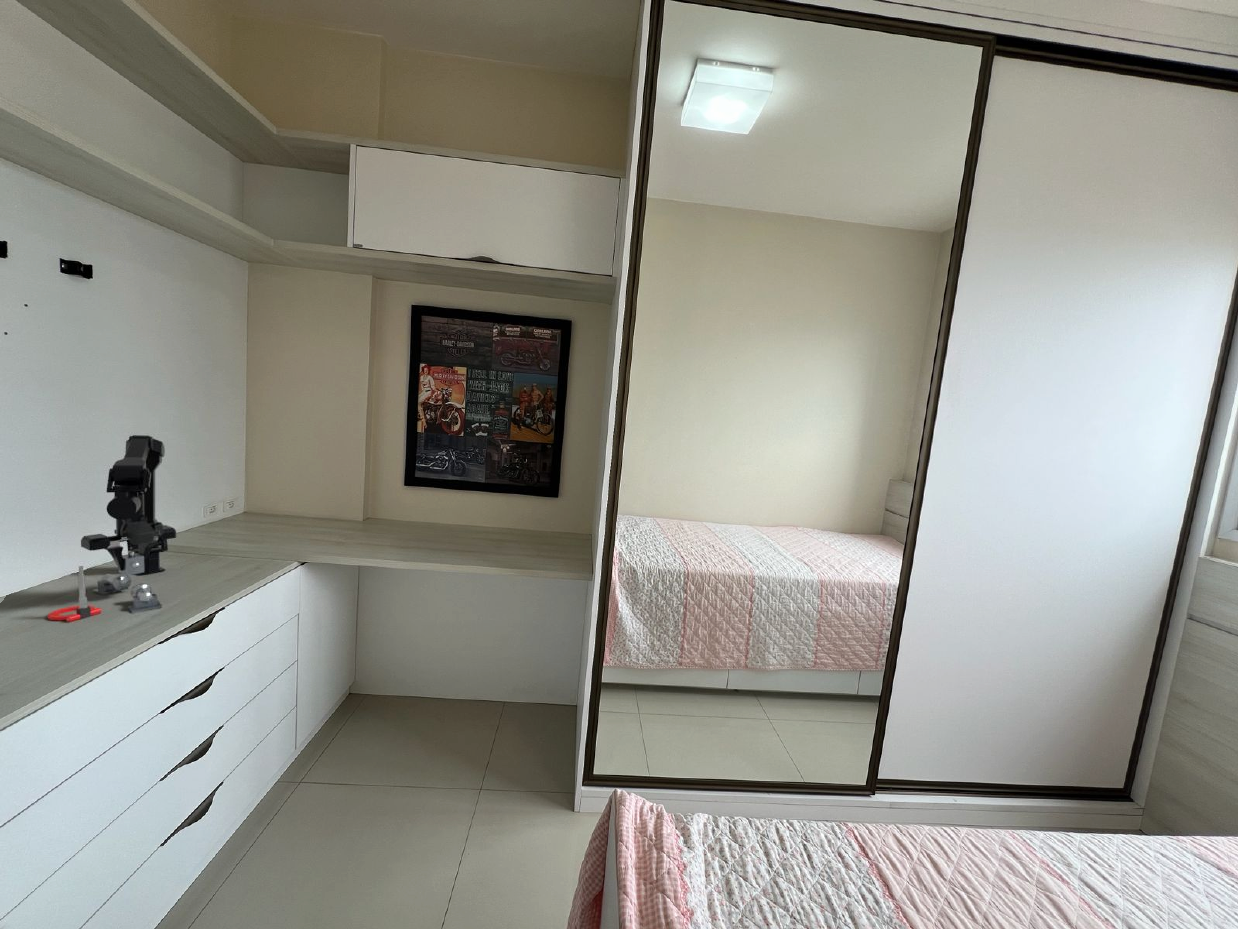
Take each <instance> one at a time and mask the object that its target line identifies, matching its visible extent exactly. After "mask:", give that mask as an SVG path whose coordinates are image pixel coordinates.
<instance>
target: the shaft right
mask: <svg viewBox="0 0 1238 929" xmlns="http://www.w3.org/2000/svg"><path fill="white" fill-rule="evenodd" d="M130 596H131V597H132V605H131V604H130V605H128V609H129V611H130V612H131V614H134V613H141V612H146V611H153V610H156V609H157V610H158V609H162V608H163V605H162V603H161V602H160V601H159V600H158V595H157V594H156V593H153V589H152V587H151V585H149V584H148V583H138V584H136V585H135V586H133V587H132V589H131V591H130Z"/></svg>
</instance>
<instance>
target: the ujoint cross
mask: <svg viewBox="0 0 1238 929" xmlns="http://www.w3.org/2000/svg"><path fill="white" fill-rule="evenodd" d="M122 557H123V571H121V570H119V569H118V573H120V575H122V574H124V575H126V576H127V575H128V576H131V575H135V574H136V575H138V574H137V573H143V572H144V556H143V555H141V554H138V553H135V551H128V550H127V554H124V555H123V554H122Z"/></svg>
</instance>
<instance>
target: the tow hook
mask: <svg viewBox="0 0 1238 929" xmlns="http://www.w3.org/2000/svg"><path fill="white" fill-rule="evenodd" d="M77 580H78V582H77V583H78V596H79V597H78V605H74V606H69V607H65V608H64V607H63V608H59V609H57V610H53V611H51V612H49V613H48V614H47V619H48V620H50V621H66V622H67V623H71V622H74V621H78V620H83V619H86V618H90V617H92V616H95V615H98V614H101V613H102V609H101V608H100V607H97V608H96V607H95V606H93V605H88V597H87V593H86V592H87V590H86V575H85V573H84V565H80V566H78V575H77ZM75 611H76V613H75V614H74V613H72V614H64V613H68V612H75ZM61 614H63V615H61Z"/></svg>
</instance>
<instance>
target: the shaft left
mask: <svg viewBox="0 0 1238 929" xmlns="http://www.w3.org/2000/svg"><path fill="white" fill-rule="evenodd" d="M131 585H132V578H131V575H127V576H126V575H124V574H119V575H118V574H117V575H114V574H109V573H107V574H104V575H102V576H101V578H100V580H98V581H97V588H95V589H92V590H91V592H92V593H93V594H98V595H101V596H106V595H109V594H112V593H116V592H120V591H121V592H122V591H125V590H127V589H129V587H130V586H131Z"/></svg>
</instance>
